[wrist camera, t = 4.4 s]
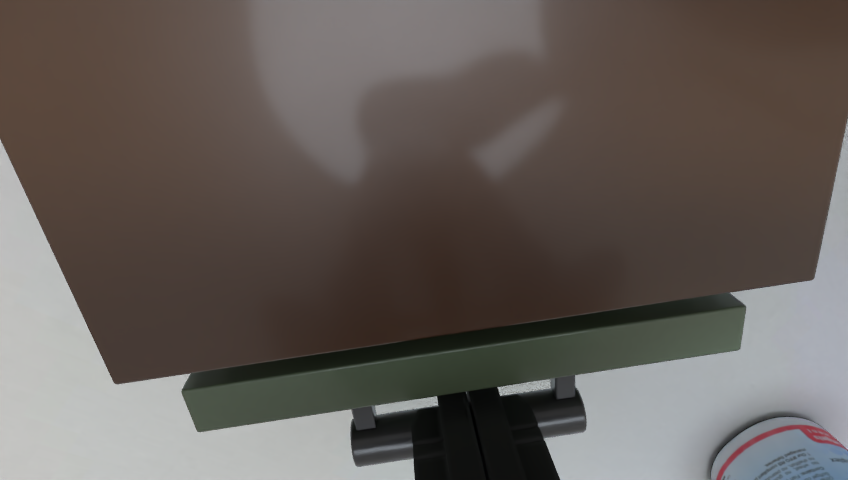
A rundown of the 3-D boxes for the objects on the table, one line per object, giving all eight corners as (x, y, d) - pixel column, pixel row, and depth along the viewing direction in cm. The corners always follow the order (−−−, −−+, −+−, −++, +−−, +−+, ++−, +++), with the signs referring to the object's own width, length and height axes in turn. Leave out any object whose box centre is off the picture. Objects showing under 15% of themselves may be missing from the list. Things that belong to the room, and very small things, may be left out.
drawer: (602, 327, 21) (719, 491, 13) (296, 373, 20) (250, 565, 13) (614, -357, 12) (926, -862, 5) (108, -293, 12) (-274, -730, 5)
